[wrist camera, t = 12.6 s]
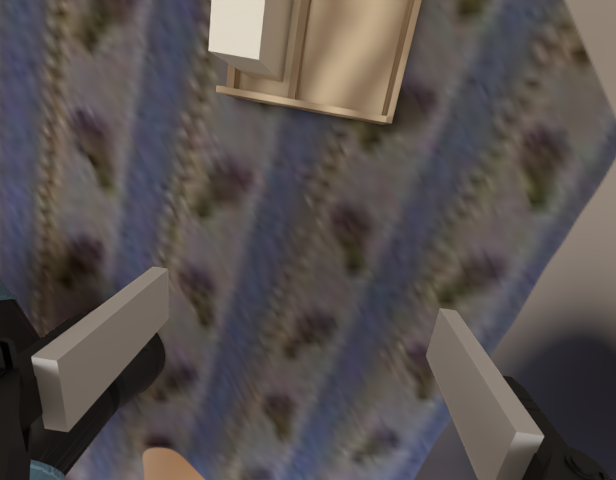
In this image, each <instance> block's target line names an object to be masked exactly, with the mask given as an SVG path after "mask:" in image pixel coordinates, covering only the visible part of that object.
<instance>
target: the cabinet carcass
mask: <svg viewBox="0 0 616 480" xmlns="http://www.w3.org/2000/svg"><path fill="white" fill-rule="evenodd" d="M421 1H422V0H294V3H293V11H292V18H291V26H290V33H289V41H288V48H287V56H286V64H285V71H284V79H283V82H278V81H272V80H267V79H261V78H255V77H250V76H247V75H246V74H244V73H243V72H241V71H239V70H238V69H236V68H235V67H233V66H232V65H230V64H228V73H227V85H226V87H223V86H218V85H216V92H218V93H221V94H224V95H227V96H230V97H233V98H238V99H244V100H249V101H255V102H260V103H266V104H271V105H277V106H282V107H288V108H293V109H299V110H304V111H310V112H315V113H321V114H326V115H332V116H337V117H343V118H348V119H354V120H359V121H365V122H370V123H375V124H381V125H386V124H392V120H393V115H394V111H395V107H396V103H397V99H398V95H399V91H400V87H401V83H402V79H403V74H404V70H405V66H406V62H407V58H408V54H409V50H410V46H411V42H412V37H413V33H414V29H415V25H416V21H417V17H418V13H419V9H420V5H421Z"/></svg>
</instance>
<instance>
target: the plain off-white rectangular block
mask: <svg viewBox="0 0 616 480" xmlns="http://www.w3.org/2000/svg"><path fill="white" fill-rule="evenodd" d="M293 3H294V0H212V3H211V19H210V36H209V51H210V52H211V53H213V54H214V55H216V56H217V57H219V58H221V59H222V60H224V61H225V62H227V63H228V64H230V65H232V66H233V67H235V68H236V69H238V70H239V71H241V72H243V73H244V74H246V75H247V76H250V77H255V78H261V79H267V80H272V81H278V82H283V79H284V71H285V64H286V56H287V48H288V41H289V33H290V26H291V18H292V11H293Z"/></svg>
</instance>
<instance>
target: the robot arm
mask: <svg viewBox="0 0 616 480" xmlns="http://www.w3.org/2000/svg"><path fill="white" fill-rule="evenodd" d="M16 299H17V298H16V296H15V295H12V294H11V293H10V292H9V291H8V289H7V288H6V287H5V285H4V284H3V283H2V281H1V280H0V480H64V478H65V476H66V475H67V473H68V472H69V471H70V469H71V468H72V467H73V466H74V464H75V463H76V462H77V460H78V459H79V458H80V457H81V455H82V454H83V453H84V452H85V450H86V449H87V448H88V446H89V445H90V444H91V443H92V441H93V440H94V439H95V437H96V436H97V435H98V434H99V432H100V431H101V430H102V428H103V427H104V426H105V425H106V423H107V422H108V421H109V419H110V418H111V417H112V416H113V414H114V413H115V412H116V411H117V409H118V408H120V407H121V406H123V405H124V404H125V403H127V402H128V401H130V400H131V399H132V398H134V397H135V396H136V395H138V394H139V393H141V392H143V391H144V390H146V389H147V388H148V387H149V386H150V385H151V384H152V383H153V382H154V380H155V379H156V378H157V376H158V375H159V374H160V372H161V370H162V368H163V365H164V349H163V346H162V343H161V341H160V339H159V337H158V335H157V334H156V332H157V331H158V330H159V329H160V328H161V327H162V325H163V324H164V323H165V322H166V321H167V320H168V319H169V277H168V269H166V268H159V267H152V268H150V269H149V270H148V271H146V272H145V273H144V274H142V275H141V276H139V277H138V278H137V279H135V280H134V281H133V282H131V283H130V284H129V285H127V286H126V287H125V288H123V289H122V290H121V291H119V292H118V293H117V294H115V295H114V296H113V297H111V298H110V299H108V300H107V301H106V302H104V303H103V304H102V305H100V306H99V307H98V308H96V309H94V310H91V311H89V312H87V313H86V314H80V315H78V316H75V317H73V318H71V319H68V320H66V321H65V322H64V323H62V324H61V325H59V326H58V327H56V328H55V330H52V331H51V332H49V333H48V334H46V335H45V337H42V338H41V339H40V337H39V336H38V334H37V332H36V331H35V329H34V328H33V326H32V325H31V323H30V321H29V320H28V318H27V317H26V315H25V314H24V312H23V310H22V309H21V307H20V306H19V304H18V303H17V301H16ZM426 358H427V360H428V363H429V365H430V367H431V370H432V372H433V374H434V377H435V379H436V381H437V384H438V386H439V389H440V391H441V393H442V396H443V398H444V400H445V403H446V405H447V407H448V410H449V412H450V415H451V417H452V419H453V422H454V424H455V426H456V429H457V431H458V433H459V436H460V438H461V441H462V443H463V445H464V448H465V450H466V452H467V455H468V457H469V459H470V462H471V464H472V467H473V469H474V471H475V474H476V476H477V478H478V480H612V479H610V477H609V476H608V474H607V473H606V471H605V470H604V469H603V468H602V467H601V466H600V465H599V464H598V463H597V462H596V461H595V460H593V459H592V458H590V457H589V456H587V455H586V454H584V453H583V452H581V451H578V450H576V449H574V448H572V447H569V446H568V445H567V444H566V442H565V441H564V440H563V438H562V437H561V436H560V434H559V433H558V432H557V430H556V429H555V428H554V426H553V425H552V424H551V423H550V421H549V420H548V418H547V417H546V416H545V415H544V413H543V412H541V409H540V408H539V407H538V405H537V404H536V403H535V402H533V399H532V397H531V396H530V395H529V393H528V392H527V391H526V389H525V388H524V387H522V386H521V385H520V384H519V383H518V382H516V381H515V380H514V379H513V378H512V377H508V376H502V375H501V374H500V372H499V371H498V369H497V368H496V367H495V365H494V364H493V362H492V361H491V359H490V358H489V357H488V355H487V354H486V352H485V351H484V349H483V348H482V347H481V345H480V344H479V342H478V341H477V339H476V338H475V337H474V335H473V334H472V332H471V331H470V330H469V328H468V327H467V325H466V324H465V322H464V321H463V320H462V318H461V317H460V315H459V314H458V312H457V311H456V310H449V309H442V308H440V309H439V313H438V316H437V320H436V323H435V326H434V330H433V333H432V337H431V340H430V344H429V347H428V350H427V354H426Z"/></svg>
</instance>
